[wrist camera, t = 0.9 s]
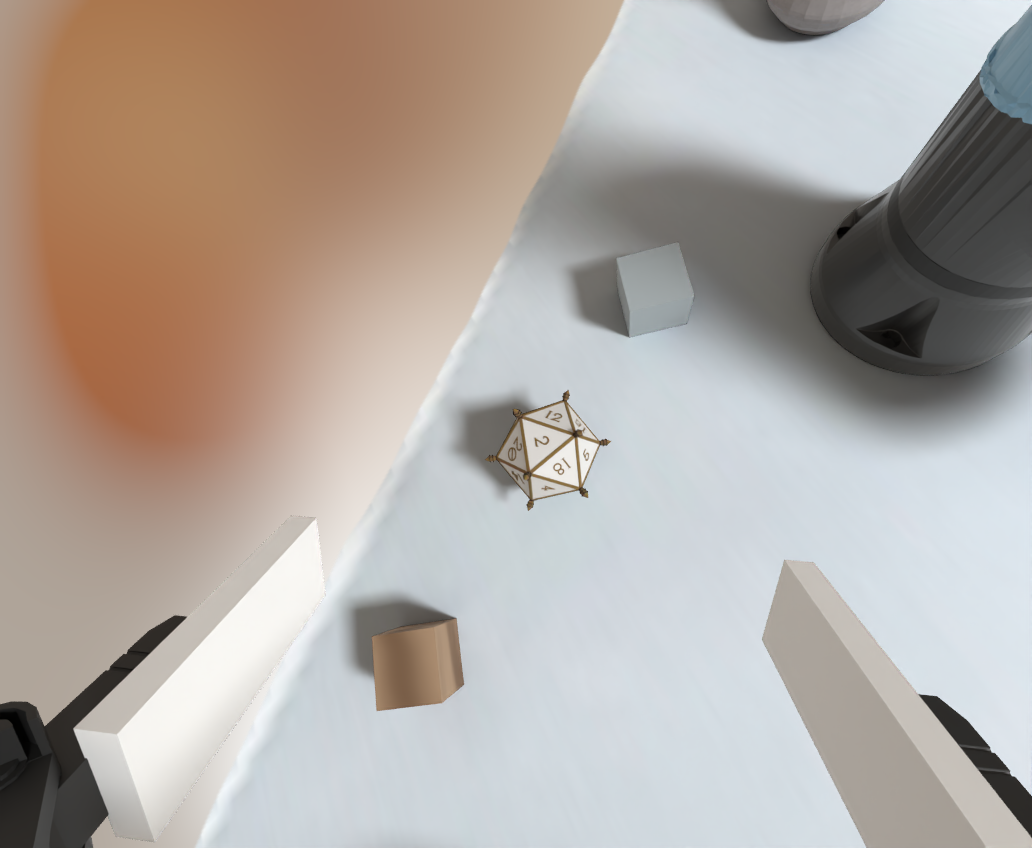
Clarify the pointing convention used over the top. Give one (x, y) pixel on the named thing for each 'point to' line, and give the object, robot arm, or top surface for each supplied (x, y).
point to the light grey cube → (654, 289)
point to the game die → (549, 451)
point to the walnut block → (417, 665)
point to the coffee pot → (821, 14)
